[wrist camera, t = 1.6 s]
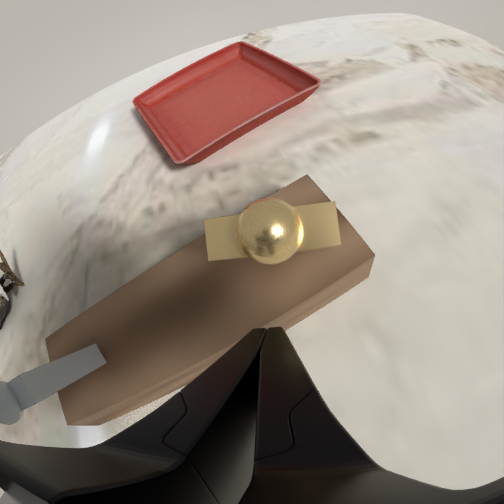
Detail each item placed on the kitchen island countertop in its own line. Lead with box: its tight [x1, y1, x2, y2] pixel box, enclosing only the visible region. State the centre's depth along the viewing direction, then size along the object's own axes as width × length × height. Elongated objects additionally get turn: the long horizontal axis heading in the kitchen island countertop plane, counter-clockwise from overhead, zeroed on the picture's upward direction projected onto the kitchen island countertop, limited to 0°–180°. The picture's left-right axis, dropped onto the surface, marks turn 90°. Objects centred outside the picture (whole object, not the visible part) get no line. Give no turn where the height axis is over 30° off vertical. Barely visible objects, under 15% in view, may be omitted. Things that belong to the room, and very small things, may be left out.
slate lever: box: [0, 343, 107, 425], centre depth 15 cm, size 2×5×10 cm, turn 118°
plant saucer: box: [133, 41, 321, 165], centre depth 34 cm, size 18×18×3 cm
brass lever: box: [204, 198, 341, 265], centre depth 15 cm, size 2×5×10 cm, turn 91°
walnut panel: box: [45, 174, 375, 425], centre depth 22 cm, size 8×26×4 cm, turn 118°
